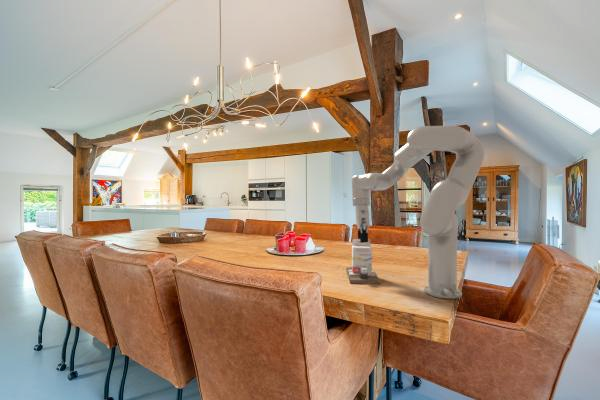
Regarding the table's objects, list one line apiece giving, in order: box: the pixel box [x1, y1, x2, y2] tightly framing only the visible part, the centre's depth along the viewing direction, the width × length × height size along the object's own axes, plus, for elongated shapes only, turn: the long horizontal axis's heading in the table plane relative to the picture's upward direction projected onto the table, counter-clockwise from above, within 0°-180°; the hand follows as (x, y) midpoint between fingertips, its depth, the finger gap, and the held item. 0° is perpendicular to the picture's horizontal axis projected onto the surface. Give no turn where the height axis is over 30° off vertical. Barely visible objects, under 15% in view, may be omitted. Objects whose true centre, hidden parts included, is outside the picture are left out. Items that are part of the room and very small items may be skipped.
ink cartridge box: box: [351, 238, 373, 274], centre depth 131 cm, size 9×5×15 cm, turn 85°
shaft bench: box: [345, 266, 380, 285], centre depth 131 cm, size 21×12×6 cm, turn 175°
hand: (362, 240), depth 130 cm, fingers open, 9 cm apart
